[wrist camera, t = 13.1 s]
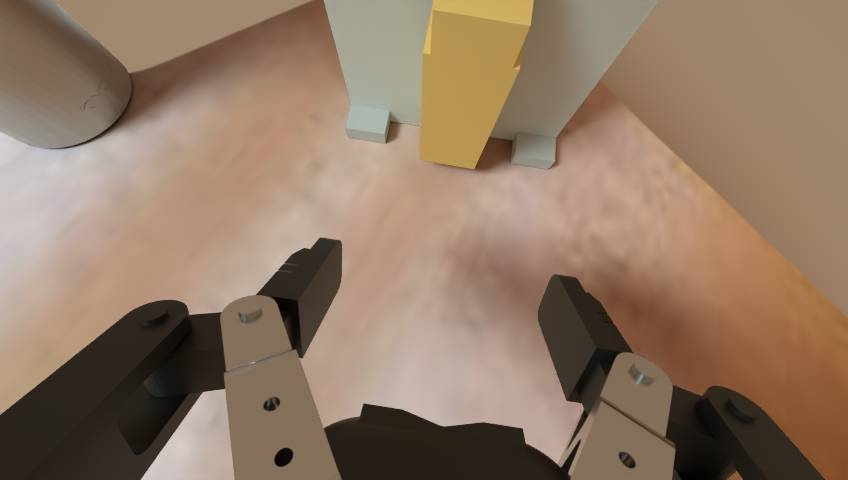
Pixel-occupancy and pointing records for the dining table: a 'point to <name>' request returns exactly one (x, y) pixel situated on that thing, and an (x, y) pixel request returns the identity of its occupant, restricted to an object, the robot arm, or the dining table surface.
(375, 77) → the wall board
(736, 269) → the dining table surface
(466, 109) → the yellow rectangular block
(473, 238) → the dining table surface
